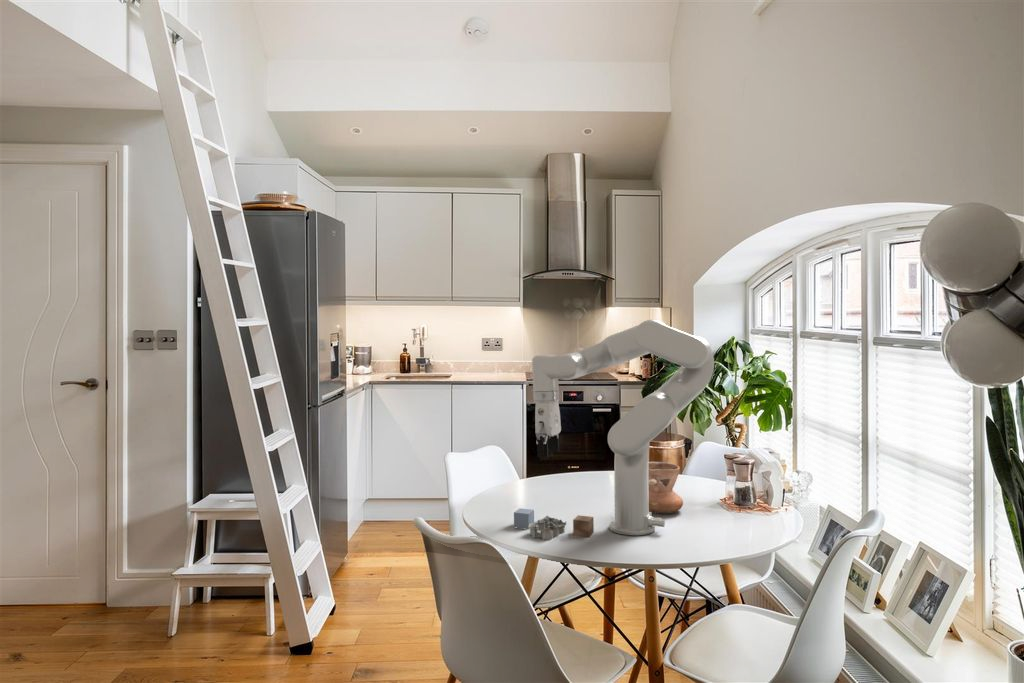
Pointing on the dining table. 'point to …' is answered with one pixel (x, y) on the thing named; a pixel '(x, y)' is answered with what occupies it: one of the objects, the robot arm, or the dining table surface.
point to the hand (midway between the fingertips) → (548, 454)
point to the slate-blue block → (523, 518)
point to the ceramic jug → (663, 488)
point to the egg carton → (552, 527)
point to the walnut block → (583, 526)
